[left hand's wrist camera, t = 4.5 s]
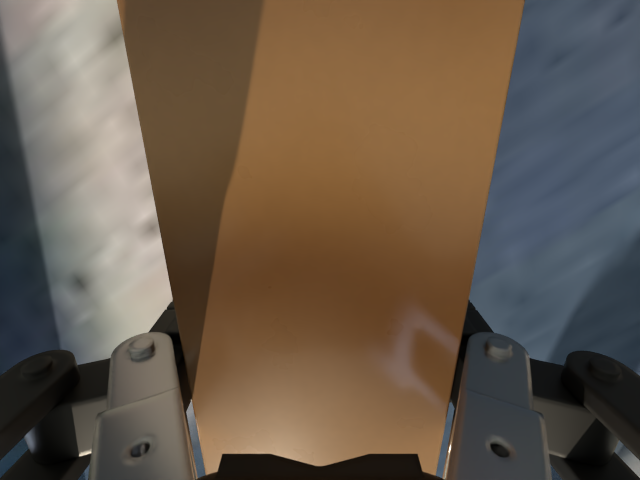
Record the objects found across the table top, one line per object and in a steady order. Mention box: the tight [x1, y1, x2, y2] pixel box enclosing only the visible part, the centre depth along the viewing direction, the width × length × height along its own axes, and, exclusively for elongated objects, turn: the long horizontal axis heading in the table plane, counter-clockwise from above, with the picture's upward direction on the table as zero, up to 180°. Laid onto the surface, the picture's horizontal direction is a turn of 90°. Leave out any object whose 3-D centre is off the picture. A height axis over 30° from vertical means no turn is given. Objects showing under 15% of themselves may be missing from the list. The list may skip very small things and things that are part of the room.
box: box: [117, 0, 525, 476], centre depth 10 cm, size 21×6×10 cm, turn 0°
